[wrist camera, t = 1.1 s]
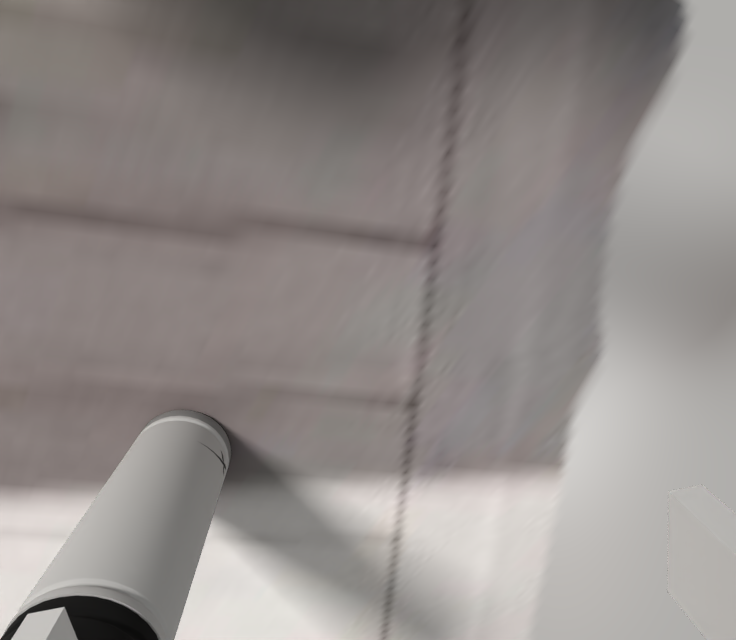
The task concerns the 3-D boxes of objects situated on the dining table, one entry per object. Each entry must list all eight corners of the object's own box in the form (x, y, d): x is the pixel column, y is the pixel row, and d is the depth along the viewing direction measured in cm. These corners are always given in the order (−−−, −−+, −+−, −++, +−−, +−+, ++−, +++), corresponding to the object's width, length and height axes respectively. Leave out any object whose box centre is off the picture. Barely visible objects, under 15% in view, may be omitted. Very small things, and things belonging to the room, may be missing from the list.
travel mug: (247, 423, 37) (169, 693, 18) (211, 501, 39) (103, 830, 19) (159, 390, 36) (-26, 639, 17) (125, 471, 37) (-81, 788, 18)
